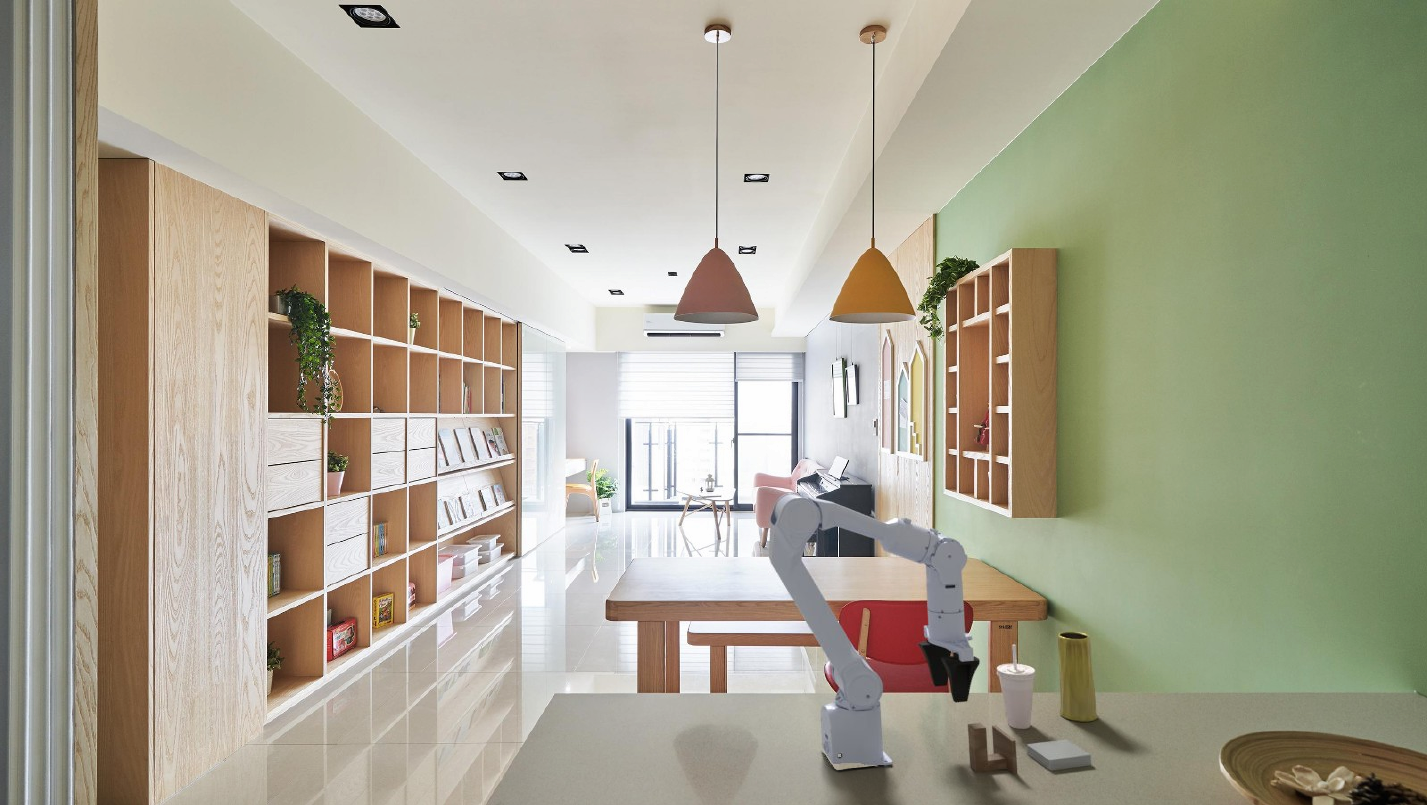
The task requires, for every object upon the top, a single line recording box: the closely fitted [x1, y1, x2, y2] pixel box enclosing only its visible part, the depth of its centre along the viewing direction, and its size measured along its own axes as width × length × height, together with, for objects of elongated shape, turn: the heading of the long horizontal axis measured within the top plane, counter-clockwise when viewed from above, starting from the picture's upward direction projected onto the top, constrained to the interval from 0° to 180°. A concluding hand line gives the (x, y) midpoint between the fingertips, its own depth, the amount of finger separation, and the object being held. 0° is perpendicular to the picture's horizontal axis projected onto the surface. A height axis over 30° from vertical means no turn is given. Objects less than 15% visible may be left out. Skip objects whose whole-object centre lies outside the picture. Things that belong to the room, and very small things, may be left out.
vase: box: [1057, 631, 1099, 723], centre depth 136 cm, size 6×6×14 cm
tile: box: [1026, 738, 1092, 771], centre depth 119 cm, size 2×6×7 cm
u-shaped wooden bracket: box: [967, 722, 1018, 775], centre depth 118 cm, size 6×6×6 cm
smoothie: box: [996, 644, 1037, 730], centre depth 134 cm, size 6×6×14 cm
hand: (950, 693), depth 124 cm, fingers open, 7 cm apart
